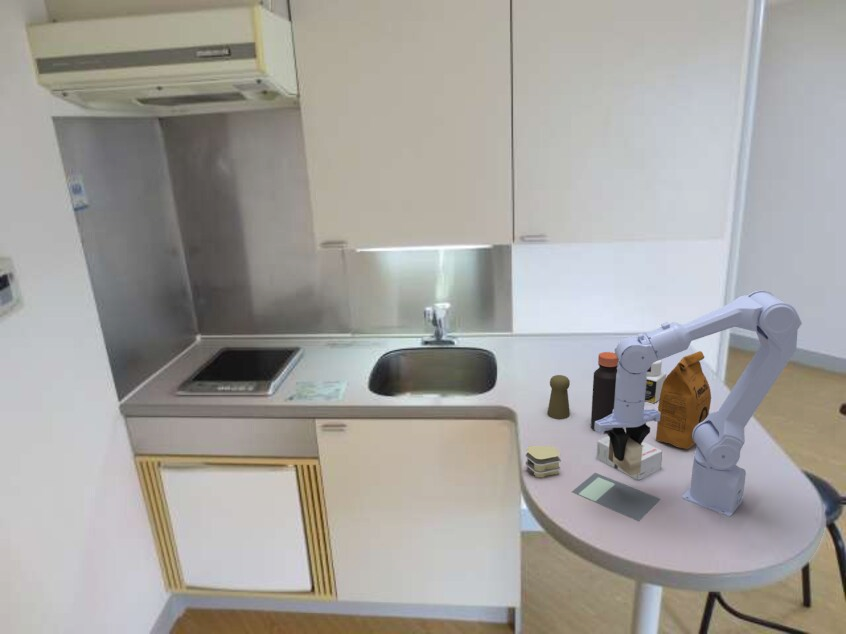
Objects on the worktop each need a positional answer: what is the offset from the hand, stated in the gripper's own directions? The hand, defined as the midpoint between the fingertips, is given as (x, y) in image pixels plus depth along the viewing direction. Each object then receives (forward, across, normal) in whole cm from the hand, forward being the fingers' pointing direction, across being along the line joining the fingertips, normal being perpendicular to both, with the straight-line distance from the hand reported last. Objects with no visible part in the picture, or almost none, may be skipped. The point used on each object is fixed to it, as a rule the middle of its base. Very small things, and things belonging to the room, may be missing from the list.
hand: (624, 457), depth 123 cm
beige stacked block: (+10, +11, -14) cm, 20 cm away
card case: (+2, 0, 0) cm, 2 cm away
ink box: (+7, -7, -15) cm, 18 cm away
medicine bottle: (+9, -37, -37) cm, 53 cm away
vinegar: (+9, -14, -26) cm, 31 cm away
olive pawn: (+9, -8, -38) cm, 39 cm away
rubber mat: (+9, +2, 0) cm, 9 cm away
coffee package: (+9, -28, -14) cm, 33 cm away
